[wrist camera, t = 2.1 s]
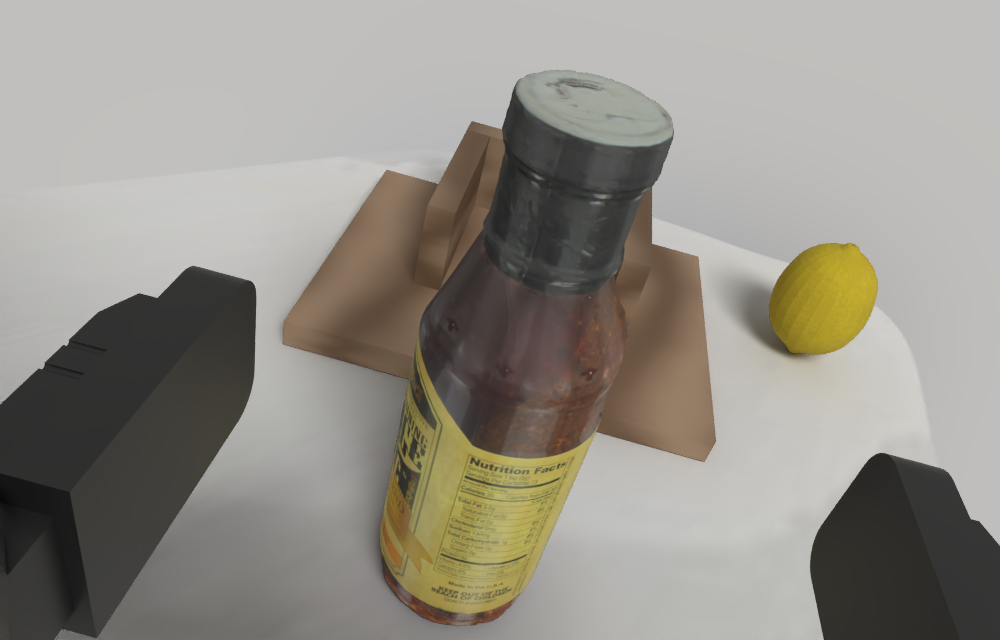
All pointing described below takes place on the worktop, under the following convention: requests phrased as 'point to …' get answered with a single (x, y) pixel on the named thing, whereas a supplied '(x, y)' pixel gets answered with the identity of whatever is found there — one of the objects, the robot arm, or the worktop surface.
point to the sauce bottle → (519, 350)
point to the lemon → (823, 298)
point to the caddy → (439, 249)
